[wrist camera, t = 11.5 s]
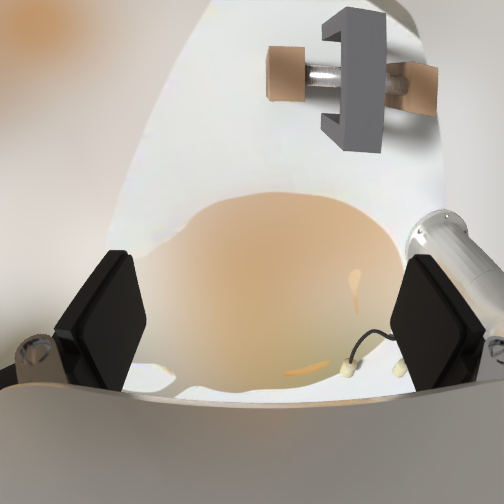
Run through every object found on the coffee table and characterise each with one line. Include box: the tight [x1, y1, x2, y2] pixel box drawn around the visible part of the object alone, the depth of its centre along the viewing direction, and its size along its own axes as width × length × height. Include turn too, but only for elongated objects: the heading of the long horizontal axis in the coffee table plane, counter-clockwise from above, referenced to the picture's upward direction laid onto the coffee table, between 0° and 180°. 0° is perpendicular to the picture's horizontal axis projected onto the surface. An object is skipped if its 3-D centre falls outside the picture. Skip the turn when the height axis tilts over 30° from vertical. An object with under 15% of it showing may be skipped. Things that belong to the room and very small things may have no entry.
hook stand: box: [266, 46, 438, 117], centre depth 30 cm, size 5×16×14 cm, turn 91°
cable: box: [340, 329, 408, 378], centre depth 59 cm, size 16×16×4 cm
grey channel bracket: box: [321, 7, 386, 153], centre depth 27 cm, size 13×4×11 cm, turn 1°
